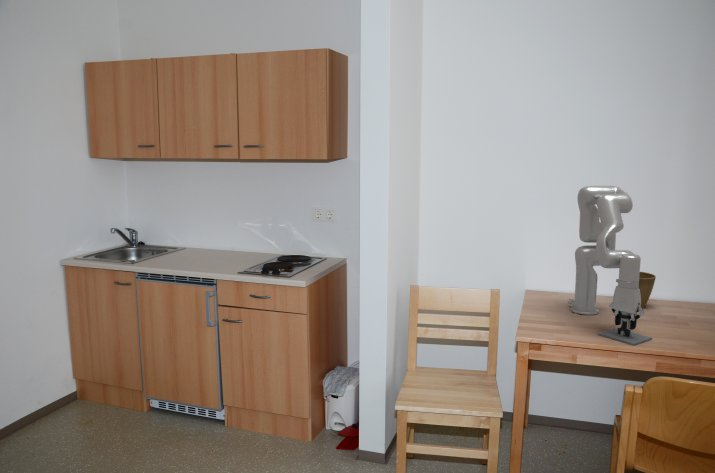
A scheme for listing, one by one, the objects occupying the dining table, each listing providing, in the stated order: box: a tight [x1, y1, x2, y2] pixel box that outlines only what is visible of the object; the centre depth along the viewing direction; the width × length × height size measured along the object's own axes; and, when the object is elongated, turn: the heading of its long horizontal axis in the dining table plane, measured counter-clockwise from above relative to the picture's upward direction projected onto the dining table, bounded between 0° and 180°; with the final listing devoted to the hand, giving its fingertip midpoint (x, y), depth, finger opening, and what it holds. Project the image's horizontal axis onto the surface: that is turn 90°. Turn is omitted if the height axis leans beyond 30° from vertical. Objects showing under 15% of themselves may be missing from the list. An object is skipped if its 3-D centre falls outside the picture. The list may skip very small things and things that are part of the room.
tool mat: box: [597, 326, 653, 346], centre depth 239 cm, size 16×13×1 cm
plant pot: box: [638, 271, 657, 309], centre depth 282 cm, size 15×15×16 cm
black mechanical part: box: [616, 312, 632, 337], centre depth 239 cm, size 7×5×10 cm
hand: (625, 326), depth 239 cm, fingers open, 5 cm apart
